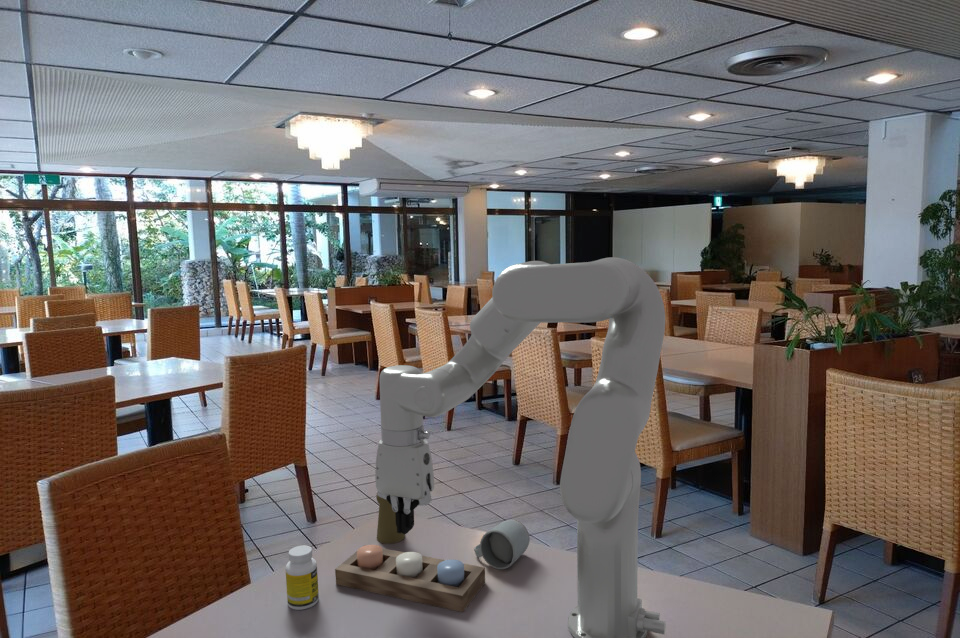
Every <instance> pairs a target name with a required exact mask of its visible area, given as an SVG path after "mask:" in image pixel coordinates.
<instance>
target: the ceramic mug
mask: <svg viewBox="0 0 960 638" xmlns="http://www.w3.org/2000/svg"><path fill="white" fill-rule="evenodd" d="M529 545H530V534H529V531H528V529H527V528H526V526H525V525H524V524H523V523H522V522H520V521H518V520H516V519H507V520H503V521H501V522H500V523H499V524H497V525H496V526H494V527H493V528H491V529H490V530H488V531H486V532H485V533H484V534H483V536H482V537H481V539H480V541H479V544H478V545H476V546H475V547H474V548H473V551H474V554H475V556H476V557H478V558H481V557H482V558H483V560H484V561H485V562H486V563H487V564H488V566H491V567H492V568H494V569H495V570H506V569H509V568H510V567H511V566H512V565H514V563H516V561H517V560H518V559H519V558H520V557H521V556H522V555H523V554H525V552H526V551H527V549H528V547H529Z"/></svg>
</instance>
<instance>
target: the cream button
mask: <svg viewBox="0 0 960 638" xmlns="http://www.w3.org/2000/svg"><path fill="white" fill-rule="evenodd" d="M422 556H423V555H422V554H421V553H419V552H415V551H406V552H405V553H402V554H400V555H398V556H397V558H396V569H397V575H400V576H405V577H410V578H415V579H416V578H417V577H418V576H419V575H420V574H421V573H422V572H423V566H422Z"/></svg>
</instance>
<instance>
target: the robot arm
mask: <svg viewBox="0 0 960 638" xmlns="http://www.w3.org/2000/svg"><path fill="white" fill-rule="evenodd" d="M491 294H492V297H491V298H490V299H489V300H488V301H487V302H486V303H485V305H484V306H483V307H482V308H481V309H480V310H479V311H478V312H477V313H476V314H475V315H474V316H473V317H472V318H471V320H470V322H469V330H470V332H471V333H470V334H471V335H470V337H469V339H468V340H467V341H466V342H465V343H464V345H463V346H462V348H460V350H459V351H457V352H456V354H455V355H453V357H452V358H451V359H449V361H447V363H445V364H443V365H441V366H439V367H437V368H436V367H435V369H433V370H430V371H426V372H423V373H422V372H421V370H420V369H419V368H418V367H416V366H413V365H408V364H407V365H406V364H402V365H401V364H399V365H393V366H392V365H391V366H388V367H385V368H384V369H382V370H381V372H380V374H379V400H380V401H379V403H380V407H379V408H380V429H381V430H380V433H381V434H380V436H381V438H380V440H378V445H377V446H378V447H377V450H376V451H377V452H376V456H375V457H376V458H375V469H374V471H375V477H374V478H375V488H376V491H377V492H378V493H377V492H376V495H378V496H379V497H381V498H383V499H387V501H388V502H389V503H390V504H391V506H392V509H393V511H394V512H395V515H396V526H397V533H402V534H405V535H407V534H408V533H409V532H410V531H411V530H412V529H413V528H414V526H415V509H416V508H417V507H418V506H428V505H430V504H431V503H432V501H433V500H432V499H433V498H432V495H431V492H433V491H434V488H435V477H434V467H433V460H432V458H433V457H432V453H431V448H430V445H429V442H428V440H429V438H430V436H431V435H430V432H429V431H427V430H425V425H424V417H426V418H436V417H440V416H441V415H444V414H446V413H447V412H449V411H450V410H452V409H453V408H455V407H457V406H459V405H460V404H463V403H465V402H467V400H469V399H470V398H471V397H472V396H473V395H474V394H476V392H477V391H478V390H480V388H481V387H482V386H483V385H484V384H485V383H486V382H487V381H489V379H490V378H491V377H492V376H493V375H494V374H495V373H496V372H497V371H498V369H500V367H501V366H502V364H503V363H504V362H505V361H506V360H507V359H508V358H509V356H510V355H511V353H512V352H514V351H515V349H516V348H517V347H518V346H519V345H520V344H521V343H522V342H523V341H524V340H525V339H526V338H527V337H528V336H529V335H530V334H532V332H533V331H534V330H535V329H536V328H537V327H538V326H539V325H541V323H544V324H545V323H546V324H549V323H551V324H552V323H555V324H556V323H557V324H558V323H571V324H572V323H573V324H574V323H578V324H579V323H581V324H582V323H597V322H602V321H606V320H608V329H607V333H606V336H605V339H604V343H603V346H602V347H603V348H602V352H601V361H600V364H599V369H598V373H597V377H596V380H595V382H594V385H593V387H592V388H591V389H590V390H589V391H588V392H586V393H585V395H584V396H582V398H581V399H580V401H579V402H578V404H577V406H576V408H575V410H574V414H573V416H572V419H571V423H570V428H569V434H568V437H567V438H568V439H567V443H566V448H565V452H564V453H565V454H564V459H563V462H562V463H563V464H562V469H561V472H560V473H561V474H560V480H559V493H560V497H561V501H562V503H563V505H564V508H565V509H566V510H567V512H568V513H569V515H571V516H572V517H573V518H574V519H575V520H576V530H577V531H576V568H577V569H576V572H577V573H576V574H577V575H576V577H577V578H576V579H577V581H576V584H577V587H576V588H577V593H576V594H577V606H576V607H574V608H573V609H572V610H571V611H570V613H569V615H568V617H567V618H568V622H567V623H568V630H569V633H570V634H571V635H572V637H573V638H646V637H647V634H648V632H652V633H655V634H658V635H659V634H660V635H665V634H666V628H667V627H666V626H667V625H666V620H661V619H660V618H661V614H660V612H657V611H656V612H655V611H649V610H646V609H645V608H644V607H643V601H642V598H638V570H639V569H638V566H639V565H638V561H639V560H638V558H639V557H638V554H639V553H638V551H639V550H638V548H639V547H638V546H639V545H638V542H639V509H640V507H639V506H640V496H641V485H642V484H641V483H642V482H641V481H642V480H641V479H642V471H641V470H642V469H641V464H640V460H639V459H640V458H639V457H638V455H637V452H636V447H637V444H638V440H639V437H640V435H641V434H642V432H643V430H644V429H645V427H646V425H647V423H648V421H649V419H650V414H651V407H652V402H653V401H652V400H653V395H654V390H655V385H656V381H657V380H656V379H657V375H658V370H659V364H660V360H661V359H660V358H661V353H662V348H663V344H664V337H665V329H666V311H665V305H664V300H663V297H662V294H661V292H660V290H659V288H658V285H657V284H656V283H655V281H654V279H653V278H651V276H650V275H649V274H648V273H647V271H645V270H644V269H643V268H642V267H640V266H639V265H637V264H635V263H634V262H632V261H630V260H628V259H625V258H621V257H617V256H616V257H614V256H613V257H605V258H600V259H597V260H592V261H588V262H587V261H586V262H585V261H583V262H574V263H573V262H570V263H553V264H551V263H548V262H545V261H542V260H530V261H525V262H521V263H515V264H513V265H509V266H507V267H506V268H505V269H503V270H502V272H500V273H499V274H498V276H497V278H496V279H495V281H494V284H493V286H492V293H491Z"/></svg>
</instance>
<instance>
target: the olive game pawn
mask: <svg viewBox="0 0 960 638" xmlns="http://www.w3.org/2000/svg"><path fill="white" fill-rule="evenodd" d="M377 493H378V491H377V492H376V494H375V495H376V501H377V503H378V518H377V530H376V531H377V532H376V541H377V542H379V543H381V544H386V545H389V544H390V545H391V544H396V543H400V542H402V541H403V540H404V539H405V537H406V534H402V533H397V526H396V515H395V512H394V511H393V509H392V506H391V504H390V503H389V502H388V501H387V499H383V498H381V497H379V496H378V495H377Z"/></svg>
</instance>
